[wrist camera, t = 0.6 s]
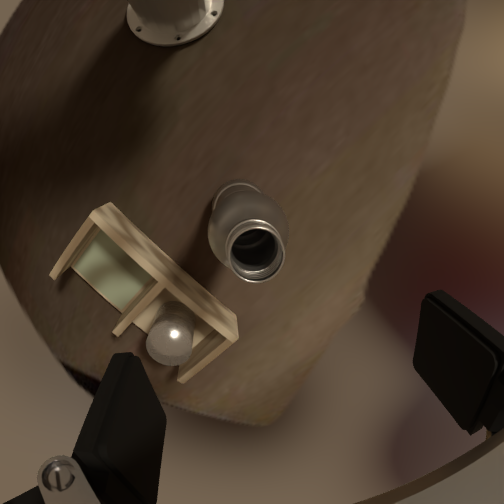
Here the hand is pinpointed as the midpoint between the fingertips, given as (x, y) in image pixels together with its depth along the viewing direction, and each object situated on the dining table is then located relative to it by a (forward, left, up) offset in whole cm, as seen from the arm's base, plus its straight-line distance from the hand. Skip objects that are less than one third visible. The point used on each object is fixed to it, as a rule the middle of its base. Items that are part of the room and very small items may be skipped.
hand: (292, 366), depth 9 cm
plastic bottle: (0, 0, -31) cm, 31 cm away
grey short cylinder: (+14, -11, -30) cm, 34 cm away
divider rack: (+9, -14, -30) cm, 34 cm away
